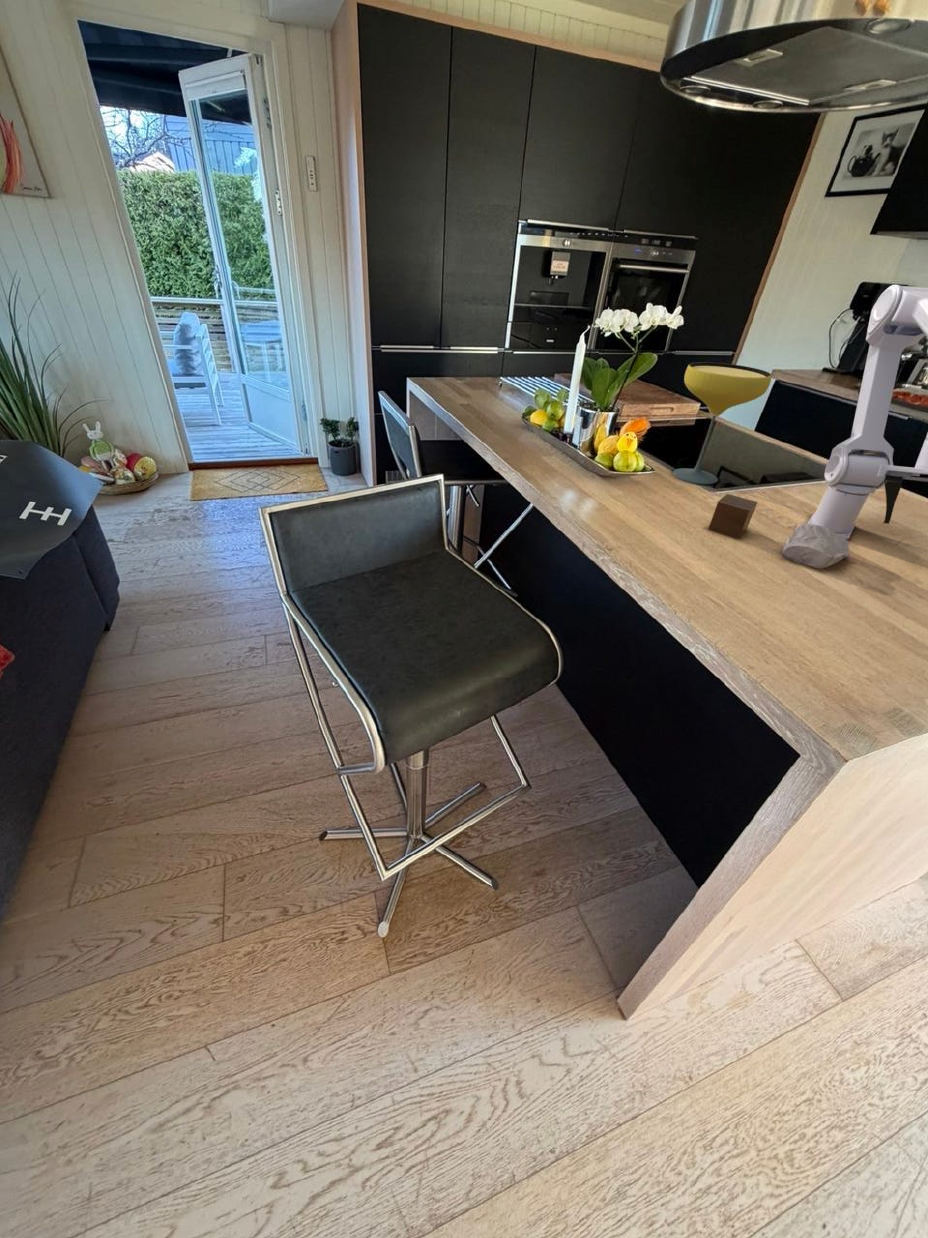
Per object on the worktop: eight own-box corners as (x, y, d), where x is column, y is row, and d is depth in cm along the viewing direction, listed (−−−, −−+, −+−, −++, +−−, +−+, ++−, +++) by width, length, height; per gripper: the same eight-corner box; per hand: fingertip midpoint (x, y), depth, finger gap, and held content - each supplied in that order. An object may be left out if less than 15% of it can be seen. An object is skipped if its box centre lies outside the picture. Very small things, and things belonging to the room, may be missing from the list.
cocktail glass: (737, 474, 136) (775, 369, 121) (727, 496, 123) (769, 381, 108) (667, 459, 142) (695, 359, 128) (650, 478, 130) (680, 368, 115)
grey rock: (839, 560, 102) (789, 535, 106) (856, 540, 99) (804, 515, 102) (827, 585, 95) (774, 556, 98) (845, 564, 91) (789, 536, 95)
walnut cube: (717, 520, 110) (727, 493, 107) (746, 529, 108) (757, 502, 104) (708, 529, 107) (718, 501, 103) (738, 538, 104) (749, 510, 100)
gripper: (891, 435, 83) (861, 521, 88) (1016, 444, 75) (975, 538, 80) (891, 437, 88) (862, 518, 93) (1007, 445, 80) (970, 533, 85)
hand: (914, 527), depth 87 cm, fingers open, 7 cm apart
